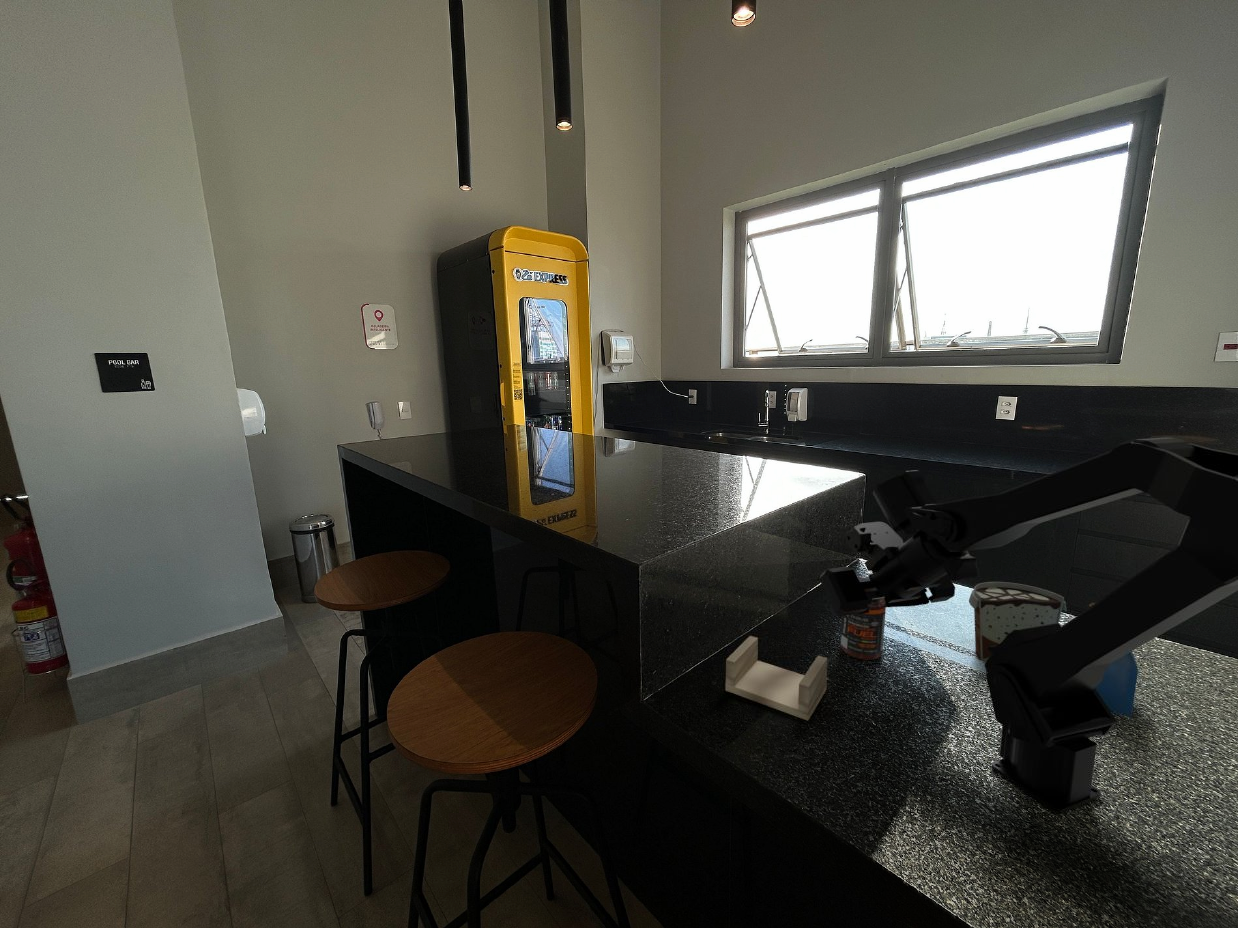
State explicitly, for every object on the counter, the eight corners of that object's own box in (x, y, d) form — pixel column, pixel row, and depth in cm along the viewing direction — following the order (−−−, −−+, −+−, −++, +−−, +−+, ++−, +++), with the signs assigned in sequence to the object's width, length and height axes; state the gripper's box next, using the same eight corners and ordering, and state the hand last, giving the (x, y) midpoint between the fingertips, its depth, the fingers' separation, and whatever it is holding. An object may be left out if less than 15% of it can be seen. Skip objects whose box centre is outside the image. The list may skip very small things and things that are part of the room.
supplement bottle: (842, 658, 76) (845, 587, 75) (837, 639, 82) (840, 572, 80) (886, 664, 75) (890, 591, 73) (878, 644, 80) (882, 575, 79)
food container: (1031, 641, 80) (1037, 580, 79) (1060, 662, 74) (1068, 597, 73) (948, 639, 81) (952, 579, 80) (970, 659, 75) (975, 595, 74)
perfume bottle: (1062, 676, 71) (1072, 594, 69) (1125, 692, 67) (1137, 606, 65) (1064, 697, 66) (1074, 610, 64) (1131, 716, 62) (1144, 624, 60)
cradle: (826, 689, 69) (827, 658, 68) (808, 720, 63) (809, 686, 62) (749, 664, 76) (749, 635, 75) (725, 690, 69) (725, 659, 69)
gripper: (944, 504, 73) (883, 553, 85) (830, 514, 69) (783, 565, 81) (990, 575, 67) (917, 618, 79) (868, 592, 62) (811, 635, 75)
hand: (856, 606), depth 79 cm, fingers closed on supplement bottle, 6 cm apart
